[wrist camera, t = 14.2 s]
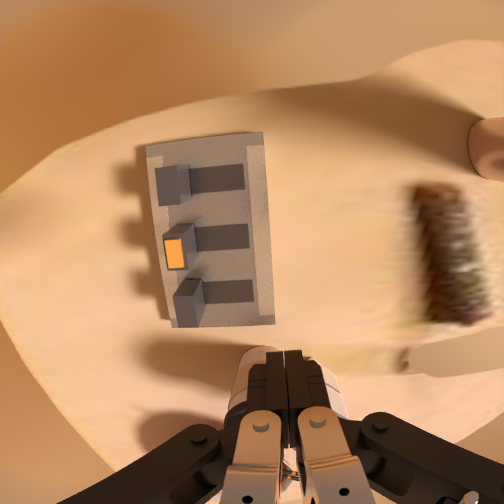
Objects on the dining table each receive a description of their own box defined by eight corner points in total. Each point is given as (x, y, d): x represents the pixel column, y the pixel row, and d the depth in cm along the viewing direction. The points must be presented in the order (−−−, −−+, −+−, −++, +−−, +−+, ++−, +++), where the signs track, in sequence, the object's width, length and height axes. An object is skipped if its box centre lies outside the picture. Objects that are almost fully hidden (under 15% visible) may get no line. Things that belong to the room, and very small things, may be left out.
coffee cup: (230, 339, 43) (218, 413, 29) (294, 338, 43) (306, 412, 28) (235, 386, 46) (226, 460, 31) (292, 385, 45) (300, 459, 31)
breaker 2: (201, 279, 38) (193, 295, 33) (205, 308, 39) (198, 327, 34) (182, 280, 38) (172, 296, 33) (187, 308, 39) (178, 327, 35)
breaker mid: (193, 223, 36) (182, 234, 31) (197, 256, 37) (187, 271, 32) (174, 225, 36) (160, 236, 31) (178, 257, 37) (165, 273, 32)
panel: (262, 133, 35) (262, 131, 33) (274, 317, 42) (275, 324, 40) (151, 146, 36) (145, 146, 34) (175, 320, 43) (171, 328, 40)
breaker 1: (188, 164, 34) (176, 165, 29) (191, 198, 35) (180, 204, 31) (168, 167, 34) (154, 168, 30) (172, 200, 35) (158, 206, 31)
